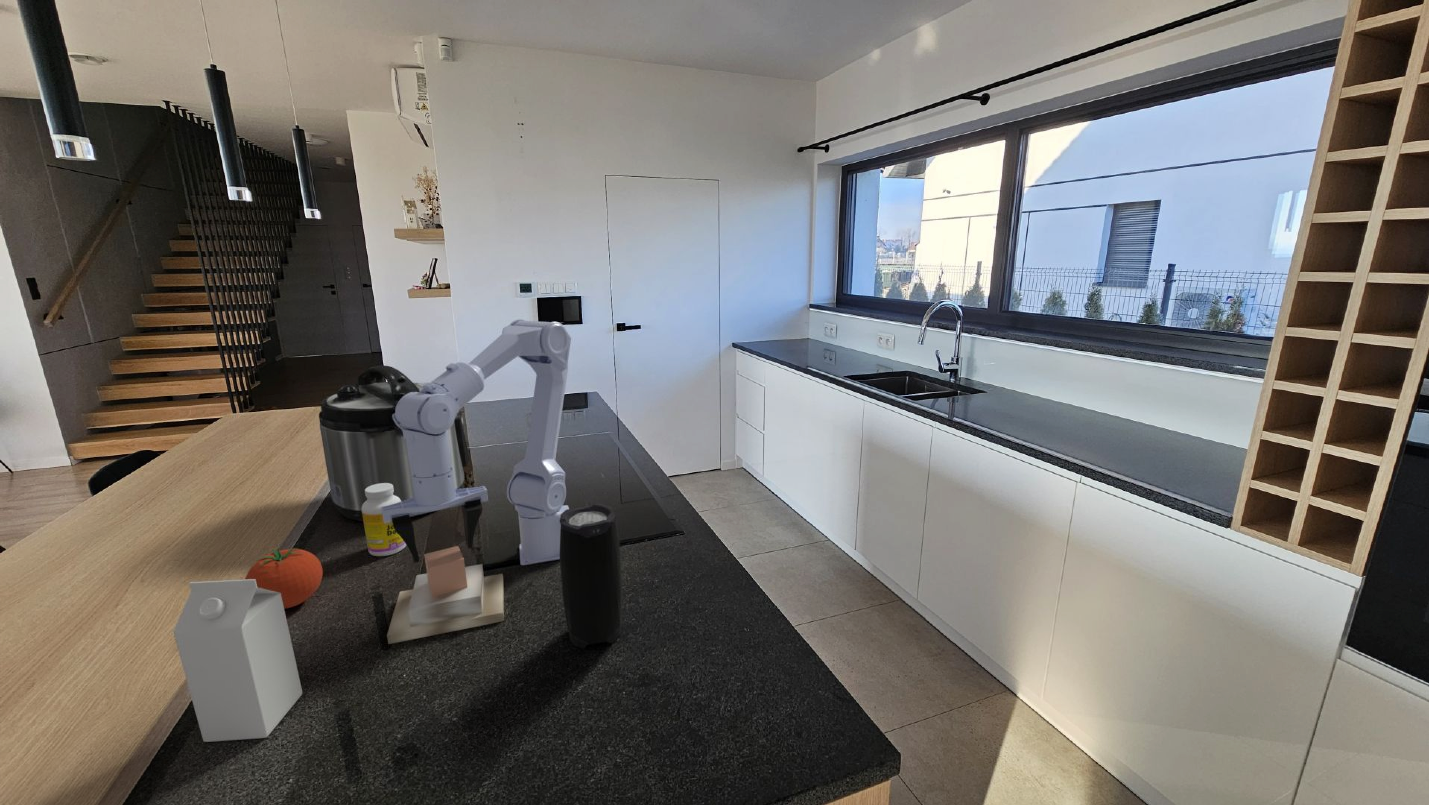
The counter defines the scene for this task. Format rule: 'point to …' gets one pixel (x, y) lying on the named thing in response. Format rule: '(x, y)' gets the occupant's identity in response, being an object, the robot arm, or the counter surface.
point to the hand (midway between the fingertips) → (443, 552)
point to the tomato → (288, 574)
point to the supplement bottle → (380, 521)
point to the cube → (445, 571)
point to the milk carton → (237, 659)
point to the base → (448, 625)
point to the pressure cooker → (374, 440)
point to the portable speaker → (591, 574)
